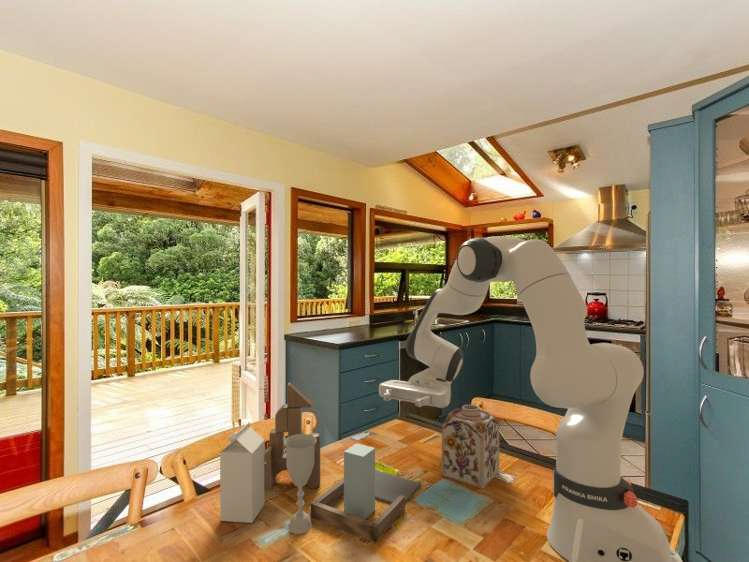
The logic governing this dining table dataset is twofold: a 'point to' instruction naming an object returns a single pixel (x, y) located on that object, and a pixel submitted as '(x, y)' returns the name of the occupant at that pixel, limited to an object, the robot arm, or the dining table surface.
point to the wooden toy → (289, 422)
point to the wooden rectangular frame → (351, 522)
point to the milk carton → (242, 476)
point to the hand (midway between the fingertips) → (401, 400)
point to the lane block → (359, 480)
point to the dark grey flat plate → (393, 487)
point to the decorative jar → (470, 446)
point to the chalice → (300, 475)
